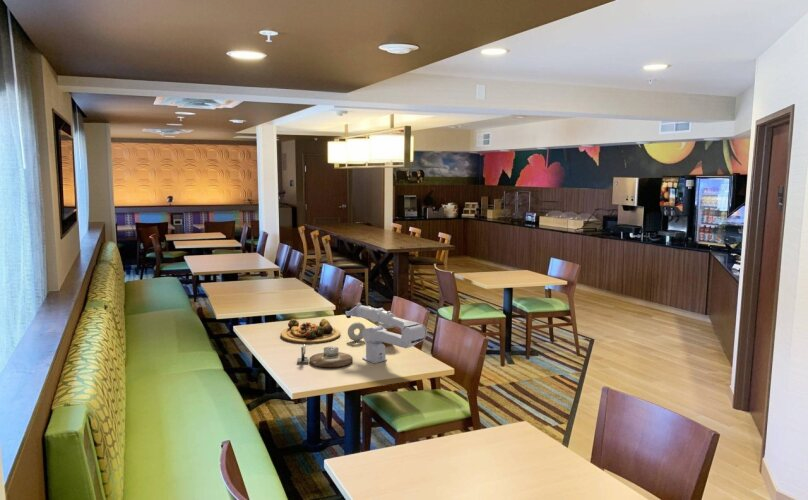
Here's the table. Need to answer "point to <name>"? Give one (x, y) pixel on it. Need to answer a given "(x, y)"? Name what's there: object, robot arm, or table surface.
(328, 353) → the cover
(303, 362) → the dial gauge
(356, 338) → the donut
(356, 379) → the table surface
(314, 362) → the turntable
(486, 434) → the table surface
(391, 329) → the disposable coffee cup
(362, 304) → the robot arm
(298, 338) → the wooden plate with food
